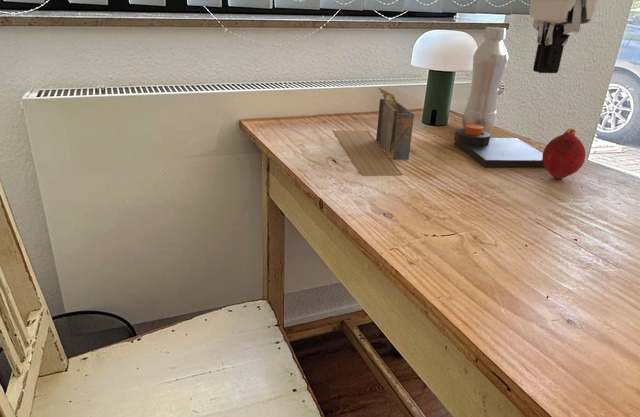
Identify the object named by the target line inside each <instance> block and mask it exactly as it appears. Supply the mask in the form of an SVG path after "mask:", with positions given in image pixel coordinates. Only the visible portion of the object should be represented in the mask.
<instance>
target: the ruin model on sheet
mask: <svg viewBox="0 0 640 417" xmlns="http://www.w3.org/2000/svg"><path fill="white" fill-rule="evenodd" d="M378 90H380V93H381V94H382V96H383V98H380V99H379V106H378V113H377V114H378V116H377V125H376V126H377V127H376V136H375V138H374V137H373V135H372V134H371V132H369V130H332V132H333V133H334V135H335V136H336V138H337V140H338V141H339V143H340V145H341V146H342V147H343V149H344V151H345V153H346V154H347V155H348V157H349V159H350V160H351V162H352V163H353V165H354V167H355V168H356V170H357V171H358V173H359V175H360V176H403V173H402V172H401V170H399V168H398V167H397V166H396V165H395V163H394V162H393V161H409V159H410V151H411V143H412V135H413V126H414V120H415V119H414V118H415V113H413V112H412V111H411V110H409V109H408V108H407V107H406V106H404V105H403V104H401V103H400V102H398V100H396V98H395V95H394V94H392V93H390V92H388V91H386V90H384V89H382V88H381V87H379V88H378ZM387 154H388V155H387Z"/></svg>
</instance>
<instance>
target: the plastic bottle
mask: <svg viewBox="0 0 640 417" xmlns="http://www.w3.org/2000/svg"><path fill="white" fill-rule="evenodd" d="M506 30H507V28H506V27H496V26H486V27H485V30H484V35H483V38H484V40H483V42H481V44H480V45H479V46H478V47H477V48H476V50H475V52H474V54H473V57H472V72H471V73H472V76H471V86H470V91H469V94H468V99H467V102H466V107H465V109H464V111H463V115H462V118H461V122H462V124H461V125H462V128H465V126H466V125H467V124H475V125H480V126H482V127H483V130H482V131H486V132H488V133H489V134H491V132H492V131H493V130H494V128H495V125H496V123H497V105H498V98H499V91H500V87H501V84H502V79H503V76H504V73H505V71H506V67H507V64H508V61H509V54H508V52H507V48H506V46H505V44H504V41H503V40H505V39H506Z"/></svg>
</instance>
